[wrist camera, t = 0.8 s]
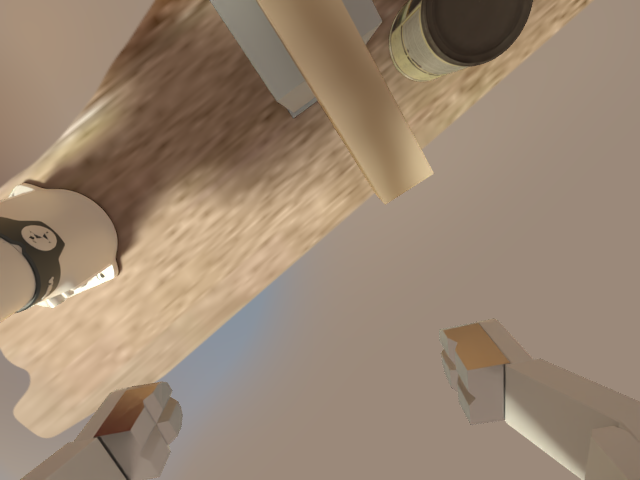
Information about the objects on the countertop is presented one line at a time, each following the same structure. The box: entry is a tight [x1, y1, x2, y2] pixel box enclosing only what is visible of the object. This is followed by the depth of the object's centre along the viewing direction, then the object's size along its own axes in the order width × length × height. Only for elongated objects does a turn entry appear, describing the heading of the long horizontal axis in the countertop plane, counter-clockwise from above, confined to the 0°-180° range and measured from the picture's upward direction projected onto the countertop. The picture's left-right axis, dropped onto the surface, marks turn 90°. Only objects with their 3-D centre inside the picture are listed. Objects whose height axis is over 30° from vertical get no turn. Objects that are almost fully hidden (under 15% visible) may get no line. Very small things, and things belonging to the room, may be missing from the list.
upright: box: [210, 0, 382, 118], centre depth 30 cm, size 9×13×26 cm
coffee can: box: [389, 0, 533, 82], centre depth 35 cm, size 10×10×14 cm
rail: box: [256, 0, 434, 204], centre depth 17 cm, size 4×22×3 cm, turn 34°
